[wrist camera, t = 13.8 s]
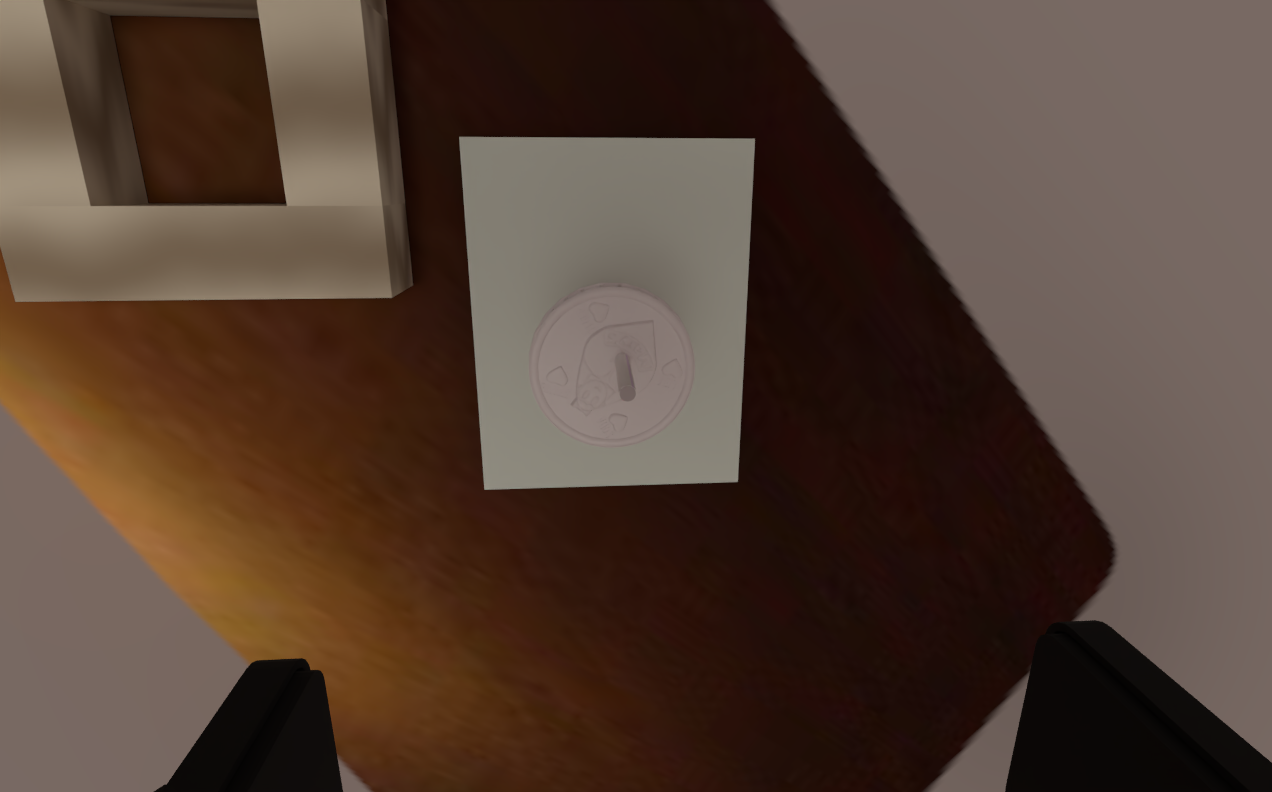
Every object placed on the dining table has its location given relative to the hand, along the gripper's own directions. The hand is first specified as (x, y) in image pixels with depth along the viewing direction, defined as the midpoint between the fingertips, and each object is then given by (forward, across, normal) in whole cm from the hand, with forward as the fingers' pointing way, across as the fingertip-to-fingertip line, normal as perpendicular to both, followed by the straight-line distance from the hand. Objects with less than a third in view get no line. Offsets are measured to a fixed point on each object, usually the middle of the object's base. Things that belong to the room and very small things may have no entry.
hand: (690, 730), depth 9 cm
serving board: (+28, 0, 0) cm, 28 cm away
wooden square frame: (+28, +18, -10) cm, 35 cm away
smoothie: (+27, 0, 0) cm, 27 cm away
